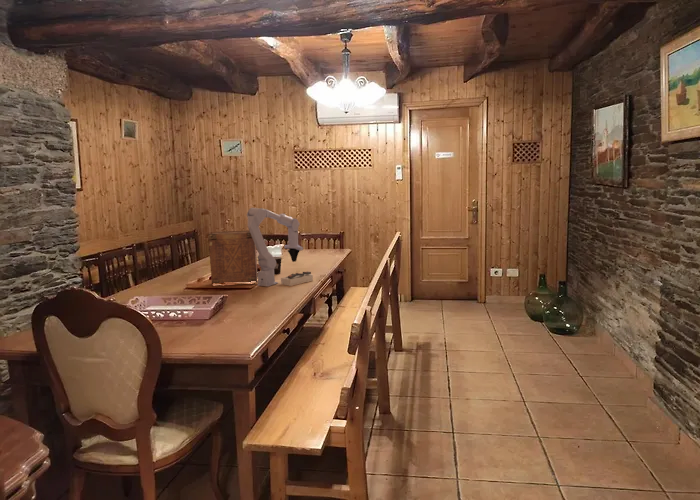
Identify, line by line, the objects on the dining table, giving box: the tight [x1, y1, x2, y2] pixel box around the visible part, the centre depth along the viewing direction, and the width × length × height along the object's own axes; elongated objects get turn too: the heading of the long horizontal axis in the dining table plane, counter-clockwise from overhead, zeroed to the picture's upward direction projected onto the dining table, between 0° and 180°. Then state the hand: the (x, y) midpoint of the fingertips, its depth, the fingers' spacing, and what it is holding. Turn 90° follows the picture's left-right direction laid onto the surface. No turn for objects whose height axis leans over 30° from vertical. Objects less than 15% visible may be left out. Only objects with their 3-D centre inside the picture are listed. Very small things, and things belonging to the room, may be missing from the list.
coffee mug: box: [273, 256, 282, 276], centre depth 322 cm, size 12×9×10 cm
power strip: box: [280, 272, 314, 287], centre depth 295 cm, size 17×8×4 cm, turn 137°
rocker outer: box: [302, 270, 312, 275], centre depth 298 cm, size 4×3×1 cm
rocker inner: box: [287, 273, 296, 279], centre depth 290 cm, size 4×3×1 cm
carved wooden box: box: [207, 230, 258, 284], centre depth 295 cm, size 25×9×30 cm, turn 96°
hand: (294, 261), depth 304 cm, fingers closed
